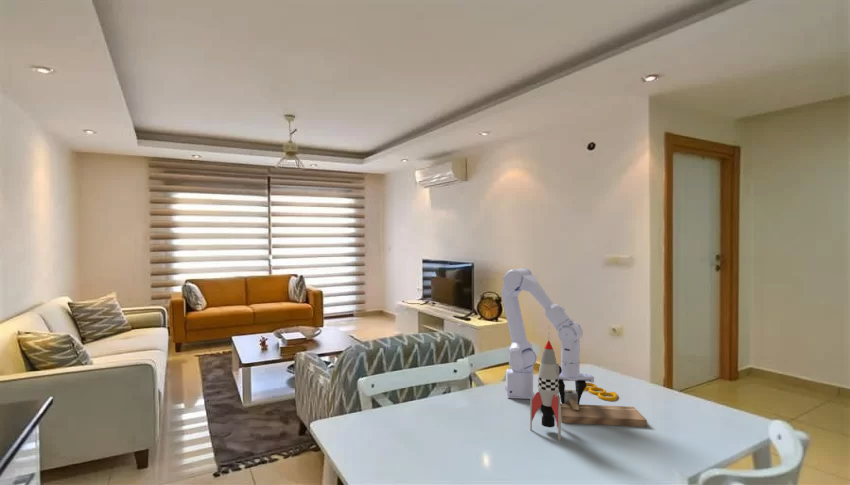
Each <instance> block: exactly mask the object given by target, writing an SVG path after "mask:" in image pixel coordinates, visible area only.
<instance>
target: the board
mask: <svg viewBox="0 0 850 485" xmlns="http://www.w3.org/2000/svg"><path fill="white" fill-rule="evenodd" d="M577 405H578V406H579V410H574V409H573V408H572V407H571V405H570V404H562V403H560V406H561V424H562V423H563V424H583V425H600V426H601V425H603V426H604V425H605V426H627V427H645V428H646V427H647V425H648V424H647V423H648V422H647V421H648V420H647V419H646V417H644V416H643V414H642V413H641V412H640V411H639V410H638V409H637V408H636V407H635V406H624V405H622V406H621V405H598V404H580V403H579V404H577Z"/></svg>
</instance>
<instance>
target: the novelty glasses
mask: <svg viewBox="0 0 850 485" xmlns="http://www.w3.org/2000/svg"><path fill="white" fill-rule="evenodd" d="M584 391H585V392H587V391H588V393H589V394H591V395H594V396H597V397H598V399H600V400H602V401H606V402H614V401H617V399H618V394H617V392H616V391H609V392H607V390H606V389H605V388H601V387H598V385H596V384H595V383H593V382H586V388H585V389H584Z"/></svg>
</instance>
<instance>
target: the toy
mask: <svg viewBox="0 0 850 485" xmlns="http://www.w3.org/2000/svg"><path fill="white" fill-rule="evenodd" d="M548 328H550V325H548ZM547 335H548V340H547V342H546V344H545V347H544V348H543V349H542V350H543V351H542V355H541V359H540V363H539V364H540V365H539V368H538V379H537V381H538V382H537V388H538V392H536V393H534V395H535V396H534V398H533V399H532V390H531V398H530V399H529V402H530V404H529V405H530V406H529V410H530V411H529V415H530V417H529V430H530V431H533V430H532V429H533V420H534V418H535V416H536V413H537V412H538V411H539V409H540V411H541V414H542V416H541V425H542V427H545V428H553V427H555V422H556V427H557V430H558V431H557V433H558V434H557V437H558V438H557V439H558V441H561V440H562V439H561V438H562V437H561V433H562V432H561V431H562V429H561V428H562V425H561V424H562V421H561V406H560V404H561V398H560V393H559V374H561V372H562V369H561V365H560V364H559V363H557V359H556V355H555V350H554V347H553V346H552V343H551V341H550V333H548V334H547ZM554 416H555V417H554ZM555 420H556V421H555Z"/></svg>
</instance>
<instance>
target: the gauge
mask: <svg viewBox="0 0 850 485" xmlns="http://www.w3.org/2000/svg"><path fill="white" fill-rule="evenodd" d="M564 400H565V401H564V404H570V405H571V407H572V408H573V409H574V410H579V406H578V405H577V404H578V394H577V392H576V389H565V390H564Z"/></svg>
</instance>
